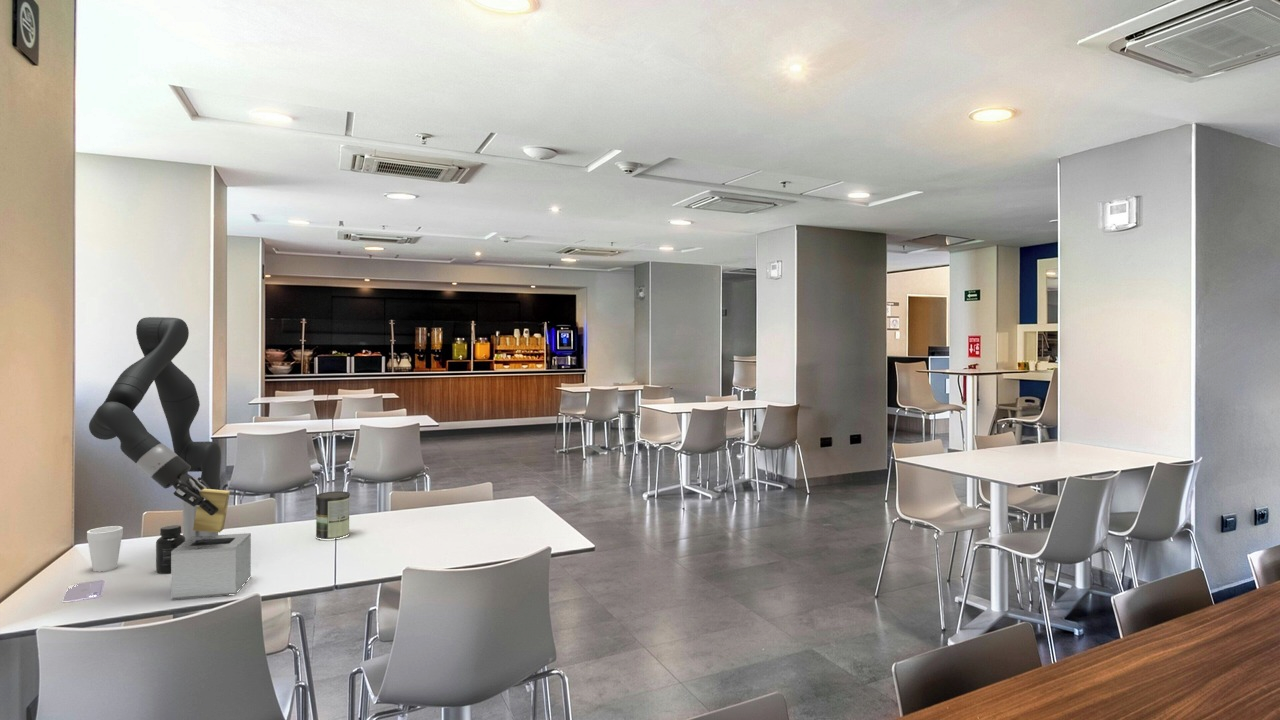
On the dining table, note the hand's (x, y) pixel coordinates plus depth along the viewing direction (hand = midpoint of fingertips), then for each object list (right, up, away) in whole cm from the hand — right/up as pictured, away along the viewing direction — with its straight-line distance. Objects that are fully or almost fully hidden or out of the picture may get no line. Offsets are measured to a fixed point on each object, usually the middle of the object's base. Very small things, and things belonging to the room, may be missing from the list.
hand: (217, 510), depth 175 cm
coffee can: (+7, -20, +50) cm, 55 cm away
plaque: (-2, -5, -1) cm, 5 cm away
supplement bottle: (-22, -20, +15) cm, 33 cm away
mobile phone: (-32, -20, -3) cm, 38 cm away
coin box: (-1, -20, 0) cm, 20 cm away
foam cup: (-41, -20, +15) cm, 48 cm away
